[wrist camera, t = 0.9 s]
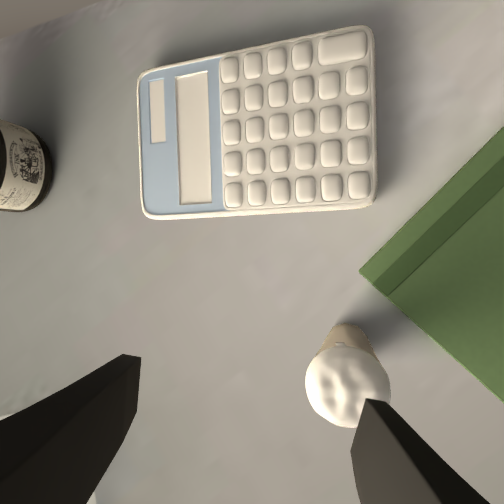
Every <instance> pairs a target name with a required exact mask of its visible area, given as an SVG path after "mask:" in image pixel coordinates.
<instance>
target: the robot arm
mask: <svg viewBox="0 0 504 504" xmlns="http://www.w3.org/2000/svg"><path fill="white" fill-rule="evenodd" d="M140 367H141V357H136V356H131V355H125V354H122V355H120V356H118V357H117V358H115V359H113V360H111V361H110V362H108V363H106V364H105V365H103V366H101V367H100V368H98V369H96V370H95V371H93V372H91V373H90V374H88V375H86V376H85V377H83V378H81V379H79V380H78V381H76V382H74V383H73V384H71V385H69V386H67V387H66V388H64V389H62V390H60V391H58V392H56V393H54V394H52V395H51V396H49V397H47V398H45V399H43V400H41V401H39V402H37V403H35V404H34V405H32V406H30V407H28V408H26V409H24V410H22V411H20V412H18V413H15V414H13V415H11V416H9V417H7V418H5V419H3V420H0V504H86V503H87V502H88V500H89V498H90V496H91V495H92V493H93V492H94V490H95V488H96V487H97V485H98V483H99V482H100V480H101V478H102V477H103V475H104V473H105V472H106V470H107V468H108V467H109V465H110V463H111V462H112V460H113V458H114V457H115V455H116V453H117V451H118V450H119V448H120V446H121V445H122V443H123V441H124V438H125V436H126V434H127V432H128V430H129V428H130V426H131V423H132V421H133V419H134V416H135V414H136V412H137V403H138V391H139V379H140ZM351 457H352V464H353V471H354V476H355V482H356V487H357V491H358V495H359V499H360V502H361V504H490V503H489V502H488V501H486V500H485V499H484V498H483V497H482V496H481V495H480V494H479V493H478V492H477V491H476V490H474V489H473V488H472V487H471V486H470V485H469V484H468V483H467V482H466V481H465V480H464V479H463V478H462V477H460V476H459V475H458V474H457V473H456V472H455V471H454V470H453V469H452V468H451V467H450V466H449V465H448V464H447V463H446V462H445V461H444V460H443V459H442V458H441V457H440V456H439V455H438V454H437V453H436V452H435V451H434V450H433V449H432V448H431V447H430V446H429V445H428V444H427V443H426V442H425V441H424V440H423V439H422V438H421V437H420V436H419V435H418V434H417V433H416V432H415V431H414V430H413V429H412V428H411V427H410V425H409V424H408V423H407V422H406V421H405V420H404V419H403V418H402V417H401V416H400V415H399V414H398V413H397V412H396V411H395V410H394V409H393V408H392V407H391V406H390V405H389V404H388V403H386V402H385V401H380V400H375V399H369V398H366V399H365V402H364V406H363V409H362V413H361V416H360V420H359V423H358V427H357V430H356V433H355V437H354V440H353V444H352V447H351Z"/></svg>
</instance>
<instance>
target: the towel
mask: <svg viewBox="0 0 504 504" xmlns="http://www.w3.org/2000/svg"><path fill="white" fill-rule="evenodd" d="M359 273H360V274H361V275H362V276H363V277H365V278H366V279H367V280H368V281H369V282H370V283H371V284H372V285H373V286H374V287H376V288H377V289H378V290H379V291H380V292H381V293H382V294H383V295H384V296H385V297H387V298H388V299H389V300H390V301H391V302H392V303H393V304H394V305H396V306H397V307H398V308H399V309H400V310H401V311H402V312H403V313H404V314H405V315H407V316H408V317H409V318H410V319H411V320H412V321H413V322H414V323H415V324H417V325H418V326H419V327H420V328H421V329H422V330H423V331H424V332H425V333H427V334H428V335H429V336H430V337H431V338H432V339H433V340H434V341H435V342H436V343H438V344H439V345H440V346H441V347H442V348H443V349H444V350H445V351H446V352H448V353H449V354H450V355H451V356H452V357H453V358H454V359H455V360H456V361H458V362H459V363H460V364H461V365H462V366H463V367H464V368H465V369H466V370H467V371H469V372H470V373H471V374H472V375H473V376H474V377H475V378H476V379H477V380H479V381H480V382H481V383H482V384H483V385H484V386H485V387H486V388H487V389H488V390H490V391H491V392H492V393H493V394H494V395H495V396H496V397H497V398H498V399H500V400H501V401H502V402H503V403H504V127H503V128H502V129H501V130H500V131H499V132H498V133H497V134H496V135H495V136H494V137H493V138H492V139H491V140H490V141H489V142H488V143H487V144H486V145H485V146H484V147H483V148H482V149H481V150H480V151H479V152H478V153H476V154H475V155H474V156H473V157H472V158H471V159H470V160H469V161H468V162H467V163H466V164H465V165H464V166H463V167H462V168H461V169H460V170H459V171H458V172H457V173H456V174H455V175H454V176H453V177H452V178H451V179H450V180H449V181H448V182H447V183H446V184H445V185H444V186H443V187H442V188H441V189H440V190H439V191H438V192H437V193H436V194H435V195H434V196H433V197H432V198H431V199H430V200H429V201H428V202H427V203H426V204H425V205H424V206H423V207H422V208H421V209H420V210H419V211H418V212H417V213H416V214H415V215H414V216H413V217H412V218H411V219H410V220H409V221H408V222H407V223H406V224H405V225H404V226H403V227H402V228H401V229H400V230H399V231H398V232H397V233H396V234H395V235H394V236H393V237H392V238H391V239H390V240H389V241H388V242H387V243H386V244H385V245H384V246H383V247H382V248H381V249H380V250H379V251H378V252H377V253H376V254H375V255H374V256H373V257H372V258H371V259H370V260H369V261H368V262H367V263H366V264H365V265H364V266H363V267H362V268H361V269H360V270H359Z"/></svg>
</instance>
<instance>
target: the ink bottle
mask: <svg viewBox="0 0 504 504" xmlns="http://www.w3.org/2000/svg"><path fill="white" fill-rule="evenodd" d="M51 176H52V162H51V156H50V153H49V150H48V147H47V145H46V144H45V142H44V141H43V140H42V138H41V137H40V136H38V135H37V134H36V133H34V132H32V131H30V130H28V129H26V128H24V127H21V126H18V125H15V124H13V123H10V122H7V121H4V120H1V119H0V211H8V212H24V211H28V210H31V209H33V208H35V207H36V206H37V205H39V204H40V203H41V202H42V201H43V199H44V198H45V196H46V194H47V192H48V189H49V186H50V182H51Z"/></svg>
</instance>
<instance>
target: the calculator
mask: <svg viewBox="0 0 504 504" xmlns="http://www.w3.org/2000/svg"><path fill="white" fill-rule="evenodd" d="M137 111H138V137H139V163H140V189H141V205H142V210H143V212H144V214H145V215H146V216H147V217H149V218H151V219H157V220H170V219H188V218H206V217H224V216H241V215H259V214H277V213H295V212H312V211H330V210H347V209H358V208H364V207H368V206H370V205H371V204H372V203H373V202H374V200H375V198H376V194H377V129H376V78H375V44H374V36H373V32H372V30H371V29H370V27H368V26H365V25H355V26H349V27H343V28H339V29H334V30H329V31H324V32H320V33H315V34H310V35H305V36H301V37H296V38H291V39H287V40H282V41H277V42H272V43H268V44H263V45H258V46H254V47H249V48H244V49H240V50H235V51H230V52H225V53H221V54H216V55H211V56H207V57H202V58H197V59H192V60H188V61H183V62H178V63H174V64H169V65H164V66H160V67H155V68H152V69H148V70H146V71H144V72H142V73H141V74H140V76H139V78H138V81H137Z"/></svg>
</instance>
